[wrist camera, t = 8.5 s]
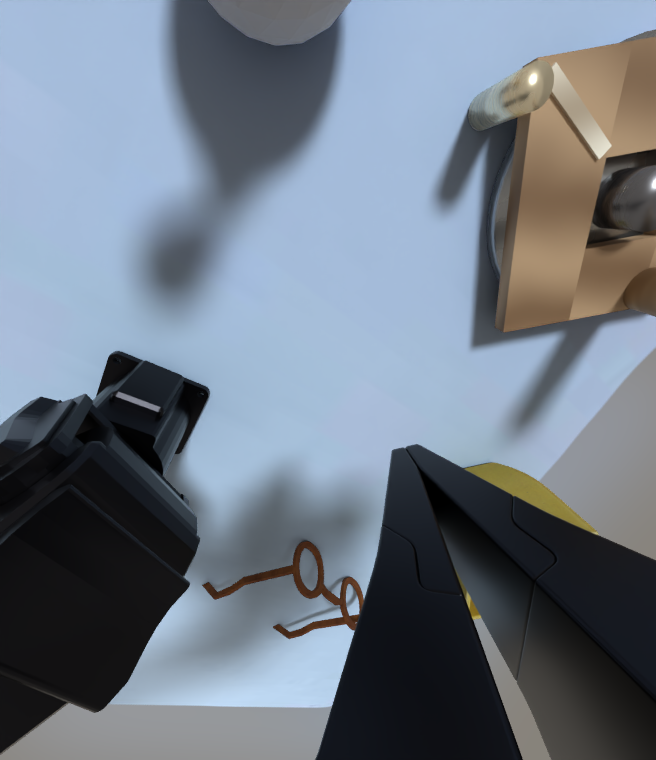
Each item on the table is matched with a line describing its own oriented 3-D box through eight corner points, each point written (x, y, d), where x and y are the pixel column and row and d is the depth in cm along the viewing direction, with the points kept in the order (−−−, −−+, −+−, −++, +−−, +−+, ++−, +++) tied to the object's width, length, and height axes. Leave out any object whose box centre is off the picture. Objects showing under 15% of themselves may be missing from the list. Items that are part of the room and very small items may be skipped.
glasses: (363, 584, 38) (372, 633, 33) (275, 623, 40) (273, 674, 36) (299, 529, 32) (300, 581, 27) (200, 580, 34) (187, 635, 30)
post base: (577, 346, 24) (625, 370, 20) (401, 216, 18) (426, 219, 15) (768, 153, 19) (877, 141, 15) (601, -109, 13) (712, -221, 10)
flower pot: (506, 505, 33) (574, 601, 25) (423, 523, 33) (464, 624, 25) (516, 440, 28) (602, 532, 20) (420, 460, 28) (469, 559, 20)
